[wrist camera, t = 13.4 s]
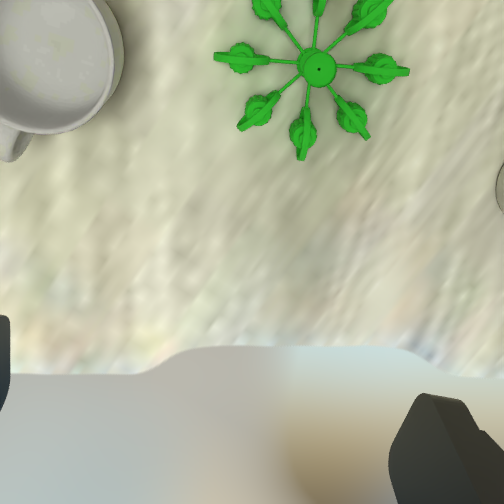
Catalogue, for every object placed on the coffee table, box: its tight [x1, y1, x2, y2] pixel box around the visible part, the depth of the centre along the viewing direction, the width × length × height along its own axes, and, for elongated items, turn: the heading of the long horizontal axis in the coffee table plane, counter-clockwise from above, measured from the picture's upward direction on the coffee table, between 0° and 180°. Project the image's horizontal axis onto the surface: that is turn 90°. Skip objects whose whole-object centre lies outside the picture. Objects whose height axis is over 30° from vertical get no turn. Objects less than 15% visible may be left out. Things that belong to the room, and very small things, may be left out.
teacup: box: [0, 0, 124, 162], centre depth 34 cm, size 14×11×8 cm
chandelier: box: [214, 0, 410, 161], centre depth 34 cm, size 15×15×7 cm
